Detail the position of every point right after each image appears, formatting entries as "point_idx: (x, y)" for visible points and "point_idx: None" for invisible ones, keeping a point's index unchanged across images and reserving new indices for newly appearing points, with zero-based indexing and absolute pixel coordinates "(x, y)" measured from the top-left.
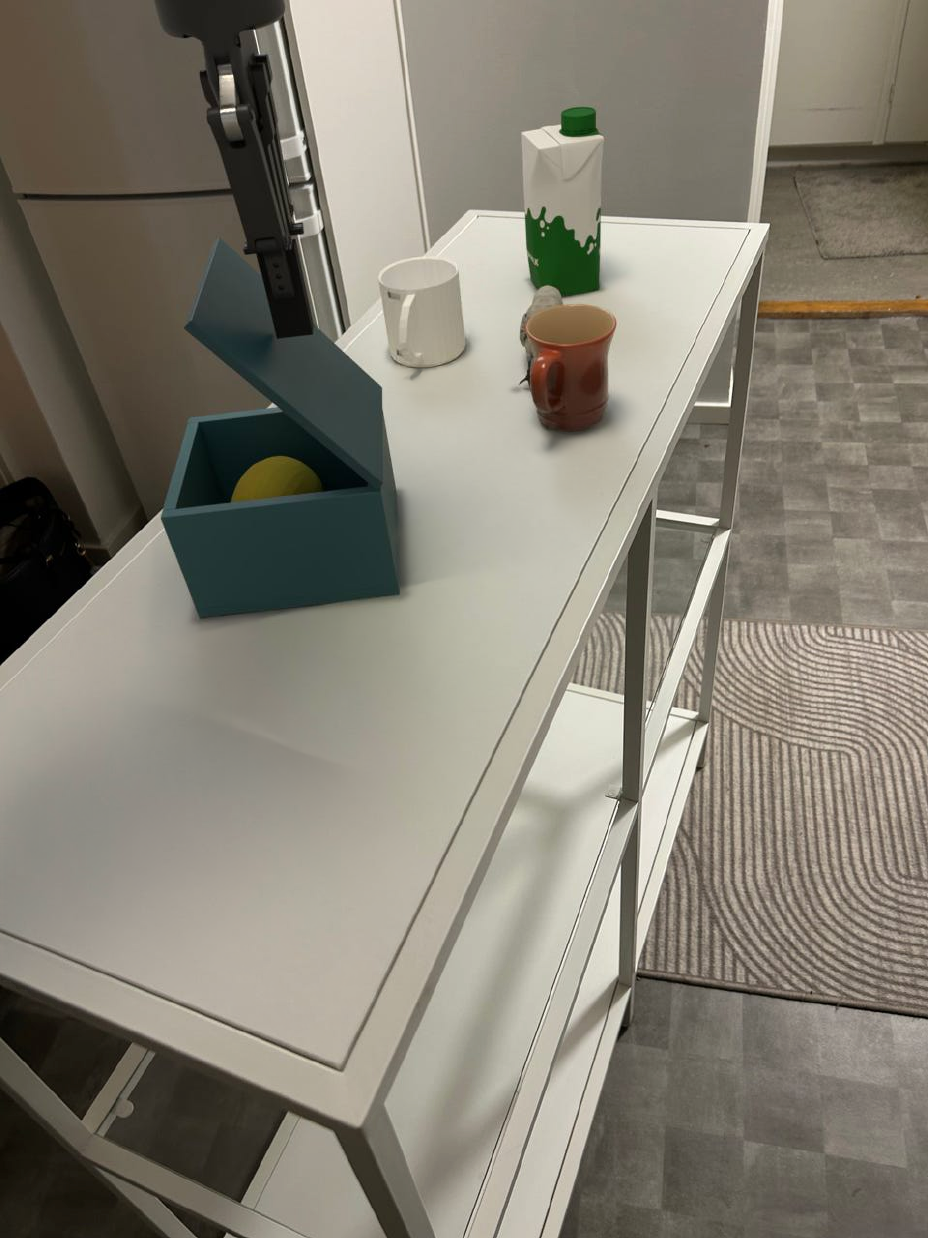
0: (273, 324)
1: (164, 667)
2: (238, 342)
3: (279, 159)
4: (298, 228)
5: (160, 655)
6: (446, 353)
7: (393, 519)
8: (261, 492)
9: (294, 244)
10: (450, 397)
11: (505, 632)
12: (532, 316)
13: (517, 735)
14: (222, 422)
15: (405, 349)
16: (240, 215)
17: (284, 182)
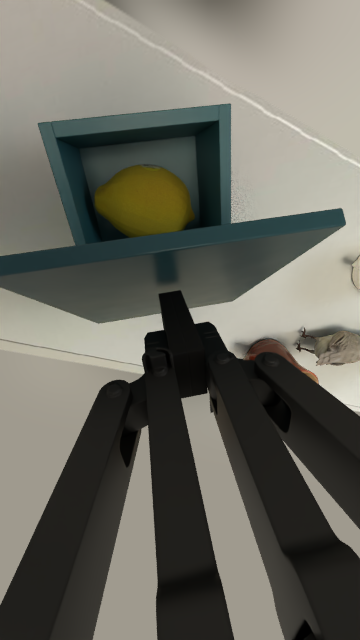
0: (160, 300)
1: (9, 121)
2: (73, 290)
3: (315, 472)
4: (210, 409)
5: (21, 112)
6: (357, 283)
7: None
8: (124, 209)
9: (185, 397)
10: (308, 287)
11: (82, 336)
12: (310, 373)
13: (12, 347)
14: (218, 150)
15: (358, 265)
16: (70, 455)
17: (283, 438)
